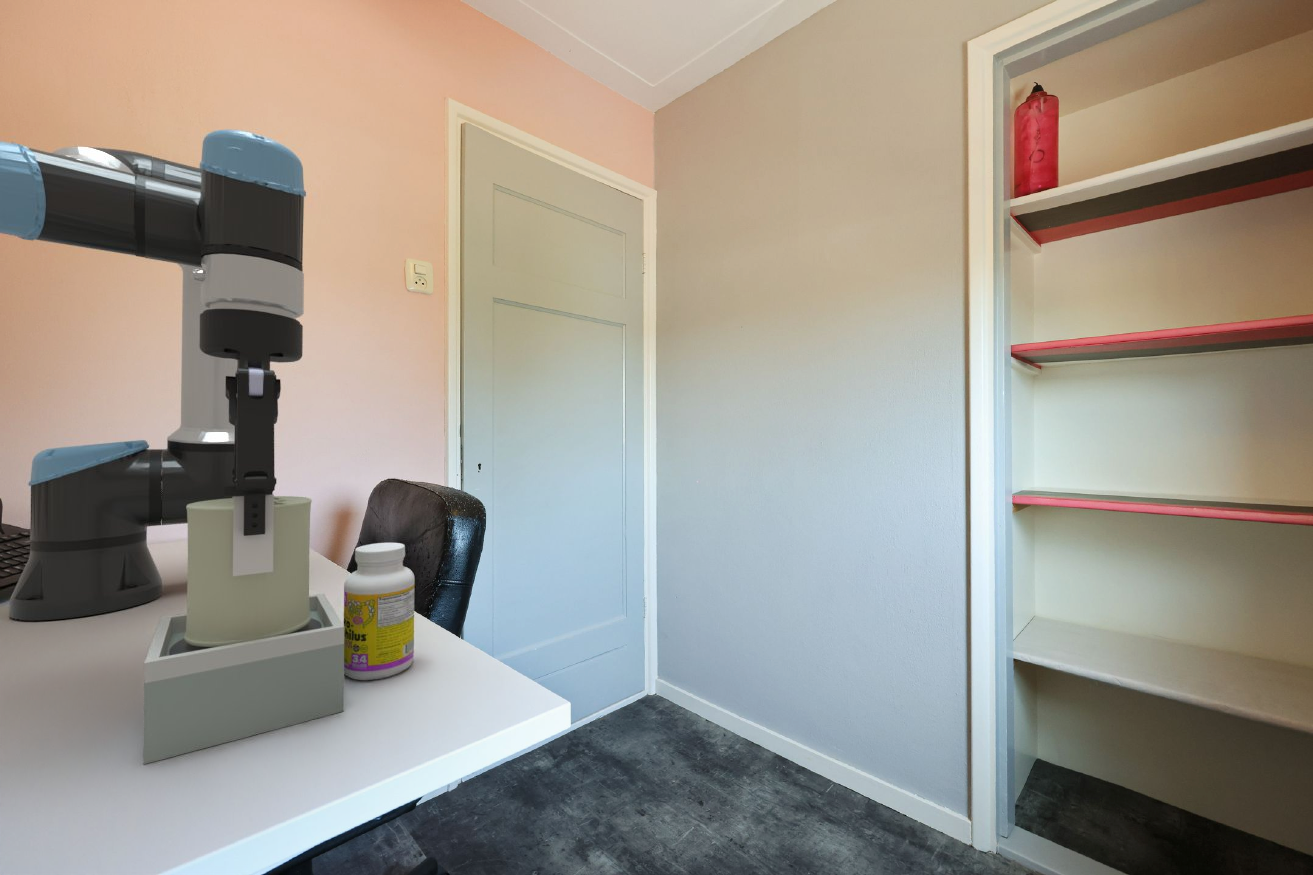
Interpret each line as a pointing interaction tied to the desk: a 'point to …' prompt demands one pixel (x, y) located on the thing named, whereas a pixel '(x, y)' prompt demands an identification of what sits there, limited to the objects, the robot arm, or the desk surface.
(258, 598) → the can
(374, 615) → the supplement bottle
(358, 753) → the desk surface
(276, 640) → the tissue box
